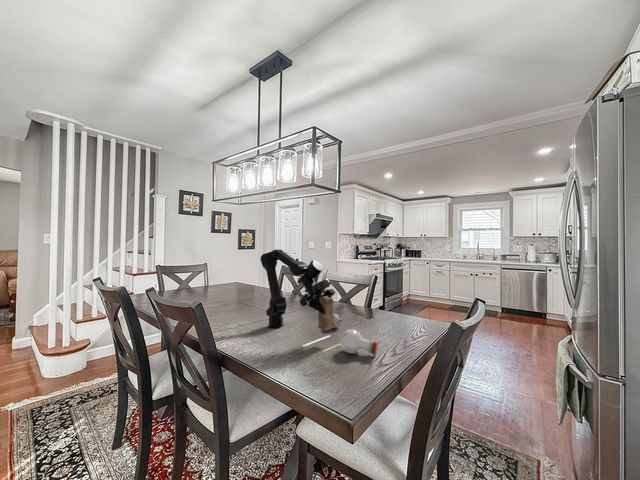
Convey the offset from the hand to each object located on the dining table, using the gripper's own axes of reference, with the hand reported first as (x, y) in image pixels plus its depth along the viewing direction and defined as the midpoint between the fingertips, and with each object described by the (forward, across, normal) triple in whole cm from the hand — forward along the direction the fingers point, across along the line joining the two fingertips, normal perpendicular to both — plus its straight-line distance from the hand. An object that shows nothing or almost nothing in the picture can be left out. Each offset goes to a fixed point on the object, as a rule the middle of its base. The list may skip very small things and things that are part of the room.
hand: (328, 312), depth 119 cm
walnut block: (+4, 0, +6) cm, 7 cm away
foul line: (+5, 0, +15) cm, 15 cm away
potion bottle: (+21, +1, 0) cm, 21 cm away
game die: (+1, +19, +19) cm, 27 cm away
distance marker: (+12, 0, +8) cm, 15 cm away
